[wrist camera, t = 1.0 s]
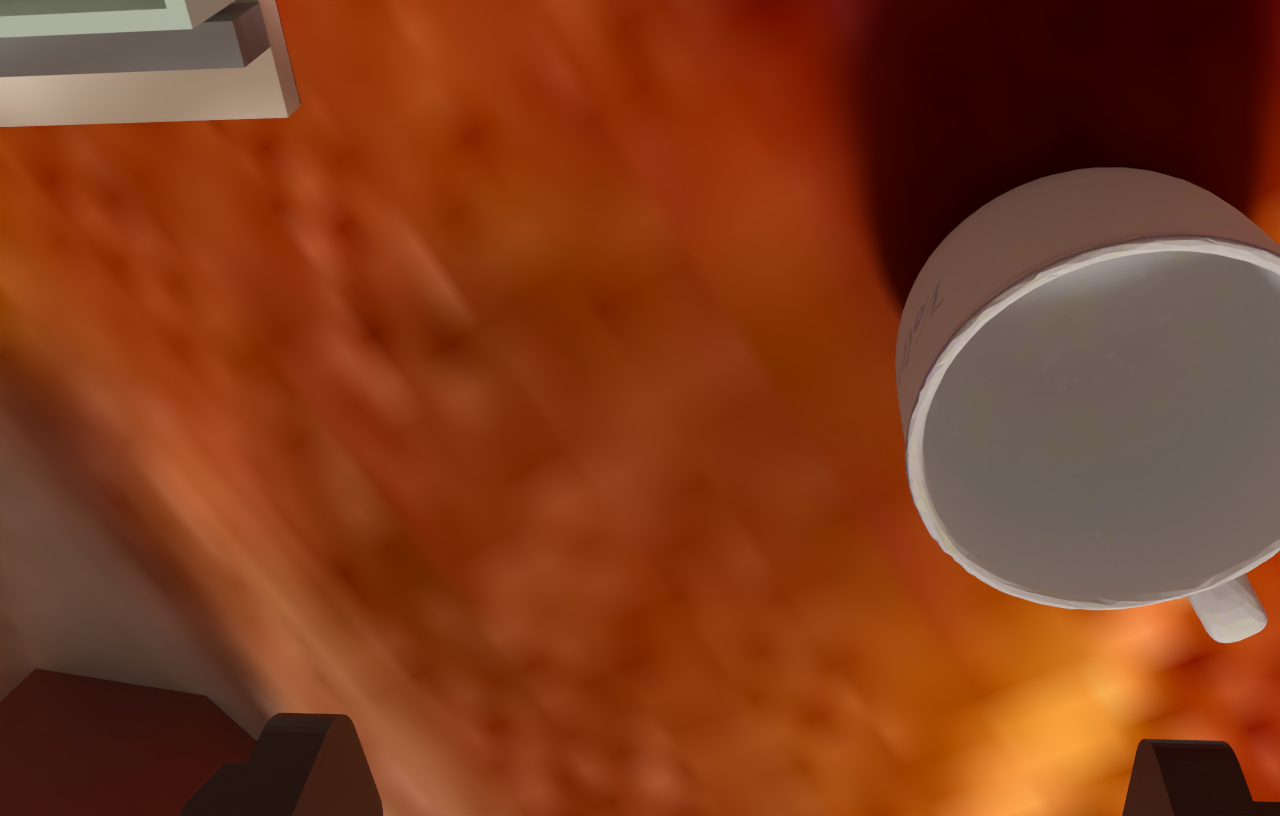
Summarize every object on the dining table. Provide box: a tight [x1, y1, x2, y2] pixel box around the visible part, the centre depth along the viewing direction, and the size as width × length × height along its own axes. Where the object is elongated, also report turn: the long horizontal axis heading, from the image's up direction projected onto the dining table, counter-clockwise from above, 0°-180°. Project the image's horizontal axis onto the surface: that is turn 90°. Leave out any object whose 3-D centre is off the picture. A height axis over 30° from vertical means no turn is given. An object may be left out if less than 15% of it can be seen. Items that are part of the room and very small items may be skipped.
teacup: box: [896, 167, 1280, 643], centre depth 32 cm, size 14×11×8 cm
